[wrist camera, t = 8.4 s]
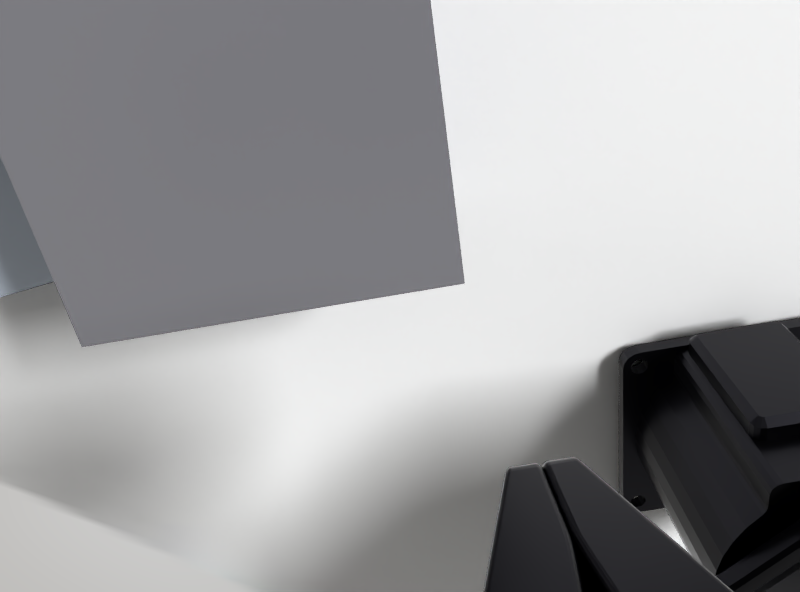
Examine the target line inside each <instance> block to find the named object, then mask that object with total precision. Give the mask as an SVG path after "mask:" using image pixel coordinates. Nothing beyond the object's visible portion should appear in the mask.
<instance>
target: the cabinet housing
mask: <svg viewBox="0 0 800 592" xmlns="http://www.w3.org/2000/svg"><path fill="white" fill-rule="evenodd" d="M0 157H1V159H2V162H3V164H4V166H5V169H6V171H7V173H8V176H9V178H10V180H11V183H12V185H13V187H14V190H15V192H16V194H17V197H18V199H19V201H20V204H21V206H22V208H23V211H24V213H25V215H26V218H27V220H28V222H29V225H30V227H31V229H32V232H33V234H34V236H35V239H36V241H37V243H38V246H39V248H40V250H41V253H42V255H43V257H44V260H45V262H46V264H47V267H48V269H49V271H50V274H51V276H52V278H53V281H54V283H55V285H56V288H57V290H58V292H59V295H60V297H61V299H62V302H63V304H64V306H65V309H66V311H67V313H68V316H69V318H70V320H71V323H72V325H73V327H74V330H75V332H76V334H77V337H78V339H79V341H80V344H81V346H82V347H86V346H92V345H98V344H104V343H110V342H116V341H122V340H128V339H134V338H140V337H146V336H152V335H158V334H164V333H170V332H176V331H182V330H188V329H194V328H200V327H206V326H212V325H218V324H224V323H230V322H236V321H242V320H248V319H254V318H260V317H266V316H272V315H278V314H284V313H290V312H296V311H302V310H308V309H314V308H320V307H326V306H332V305H338V304H344V303H350V302H356V301H362V300H368V299H374V298H380V297H386V296H392V295H398V294H404V293H410V292H416V291H422V290H428V289H434V288H440V287H446V286H452V285H458V284H464V274H463V266H462V258H461V250H460V241H459V233H458V225H457V216H456V208H455V200H454V192H453V183H452V175H451V167H450V159H449V150H448V142H447V134H446V126H445V117H444V109H443V101H442V93H441V84H440V76H439V68H438V59H437V51H436V43H435V35H434V26H433V18H432V10H431V2H430V0H0Z"/></svg>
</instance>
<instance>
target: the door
mask: <svg viewBox="0 0 800 592" xmlns="http://www.w3.org/2000/svg"><path fill="white" fill-rule="evenodd" d="M51 282H54V281H53V278H52V276H51V274H50V271H49V269H48V267H47V264H46V262H45V260H44V257H43V255H42V253H41V250H40V248H39V246H38V243H37V241H36V239H35V236H34V234H33V232H32V229H31V227H30V225H29V222H28V220H27V218H26V215H25V213H24V211H23V208H22V206H21V204H20V201H19V199H18V197H17V194H16V192H15V190H14V187H13V185H12V183H11V180H10V178H9V176H8V173H7V171H6V169H5V166H4V164H3V162H2V159H1V157H0V297H3V296H6V295H10V294H13V293H17V292H20V291H23V290H27V289H30V288H34V287H37V286H41V285H44V284H47V283H51Z"/></svg>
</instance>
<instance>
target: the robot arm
mask: <svg viewBox="0 0 800 592" xmlns="http://www.w3.org/2000/svg"><path fill="white" fill-rule="evenodd" d="M637 360H643V361H642V362H641V363H640V364H639V365H637V366H632V364H633V363H634V362H635V361H637ZM636 496H638V497H636ZM634 497H636V498H634ZM660 508H666V510H667V512H668V514H669V516H670V518H671V520H672V522H673V524H674V526H675V528H676V530H677V532H678V533H679V535H680V537H681V539H682V541H683V543H684V545H685V547H686V549H687V551H688V552H687V551H686V550H685V549H683V548H682V547H681V546H680V545H679V544H678V543H676V542H675V541H674V540H673V539H672V538H671V537H669V536H668V535H667V534H666V533H665V532H664V531H662V530H661V529H660V528H659V527H658V526H657V525H655V524H654V523H653V522H652V521H651V520H650V519H648V518H647V517H646V516H645V515H644V514H643V513H641V511H648V510H654V509H660ZM483 592H800V318H798V319H791V320H785V321H779V322H778V321H773V322H767V323H761V324H755V325H749V326H743V327H737V328H731V329H725V330H719V331H713V332H707V333H701V334H697V335H695V336H689V337H683V338H677V339H671V340H665V341H659V342H653V343H647V344H641V345H635V346H632V347H629V348H627V349H626V350H625V351H623V353H622V354H621V355H620V358H619V493H618V492H617V491H616V490H615V489H613V488H612V487H611V486H610V485H609V484H608V483H606V482H605V481H604V480H603V479H602V478H601V477H599V476H598V475H597V474H596V473H595V472H594V471H592V470H591V469H590V468H589V467H588V466H587V465H585V464H584V463H583V462H582V461H581V460H579V459H578V458H575V457H568V458H562V459H555V460H549V461H546V462H544V463H543V465H542V467H541V465H540V464H538V463H531V464H525V465H519V466H513V467H509V468H508V469H507V470H506V472H505V477H504V482H503V488H502V493H501V499H500V504H499V509H498V515H497V520H496V526H495V531H494V537H493V542H492V547H491V553H490V558H489V564H488V569H487V575H486V580H485V585H484V591H483Z"/></svg>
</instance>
